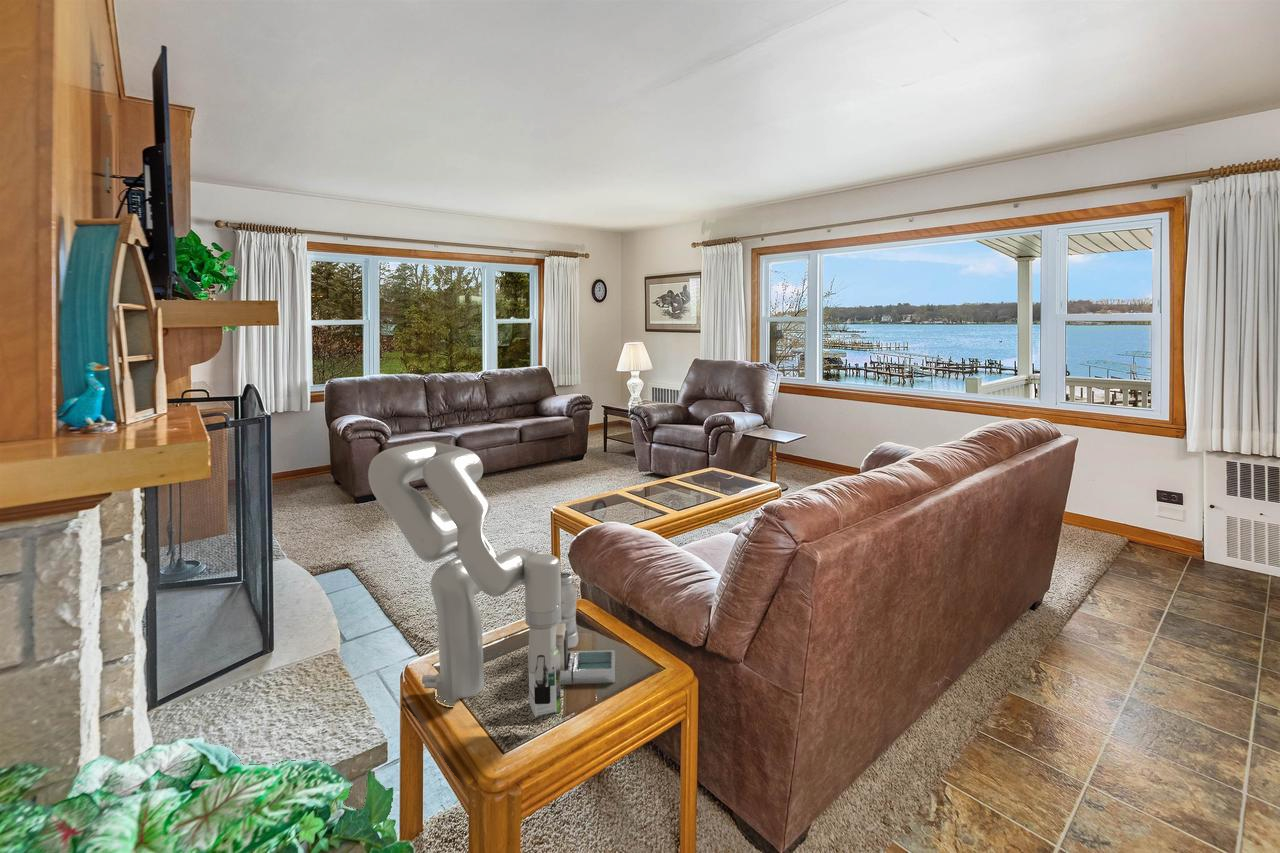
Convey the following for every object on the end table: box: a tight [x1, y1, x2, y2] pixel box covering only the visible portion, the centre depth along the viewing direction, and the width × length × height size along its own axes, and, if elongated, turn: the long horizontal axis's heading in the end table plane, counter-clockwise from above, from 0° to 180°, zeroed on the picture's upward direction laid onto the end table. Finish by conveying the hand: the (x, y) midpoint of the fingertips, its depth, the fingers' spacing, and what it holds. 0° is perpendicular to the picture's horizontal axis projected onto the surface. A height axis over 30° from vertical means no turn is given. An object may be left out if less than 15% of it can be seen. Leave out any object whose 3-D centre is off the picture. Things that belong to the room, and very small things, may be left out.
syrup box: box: [527, 647, 562, 718], centre depth 131 cm, size 6×6×14 cm
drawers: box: [560, 649, 617, 686], centre depth 146 cm, size 20×10×4 cm, turn 92°
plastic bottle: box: [559, 572, 579, 650], centre depth 160 cm, size 6×7×20 cm
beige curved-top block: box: [556, 623, 569, 670], centre depth 145 cm, size 6×6×11 cm
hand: (544, 692), depth 132 cm, fingers closed on syrup box, 7 cm apart
